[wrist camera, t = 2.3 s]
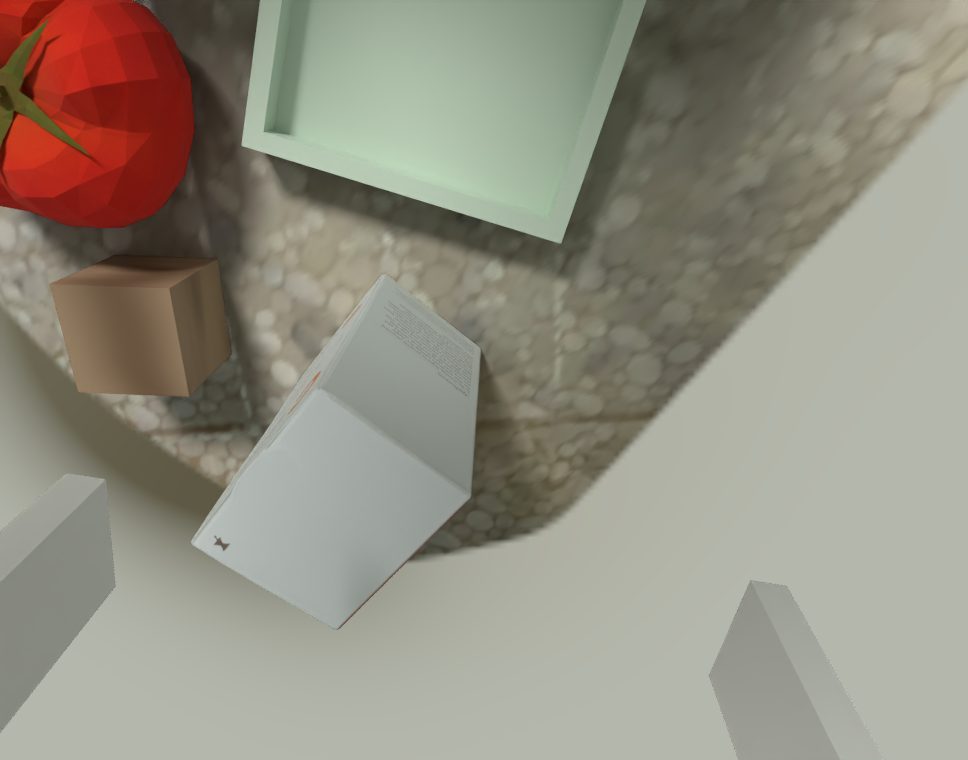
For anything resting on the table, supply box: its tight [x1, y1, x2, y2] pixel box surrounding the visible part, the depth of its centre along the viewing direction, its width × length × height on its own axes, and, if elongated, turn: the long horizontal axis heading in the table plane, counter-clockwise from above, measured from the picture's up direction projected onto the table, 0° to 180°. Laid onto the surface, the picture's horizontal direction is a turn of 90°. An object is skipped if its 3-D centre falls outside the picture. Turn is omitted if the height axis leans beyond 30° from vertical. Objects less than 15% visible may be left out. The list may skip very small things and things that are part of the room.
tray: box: [242, 0, 646, 244], centre depth 25 cm, size 14×14×2 cm
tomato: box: [0, 0, 195, 228], centre depth 25 cm, size 10×11×6 cm
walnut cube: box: [50, 255, 232, 397], centre depth 30 cm, size 5×5×5 cm
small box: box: [191, 274, 481, 630], centre depth 27 cm, size 8×6×13 cm
